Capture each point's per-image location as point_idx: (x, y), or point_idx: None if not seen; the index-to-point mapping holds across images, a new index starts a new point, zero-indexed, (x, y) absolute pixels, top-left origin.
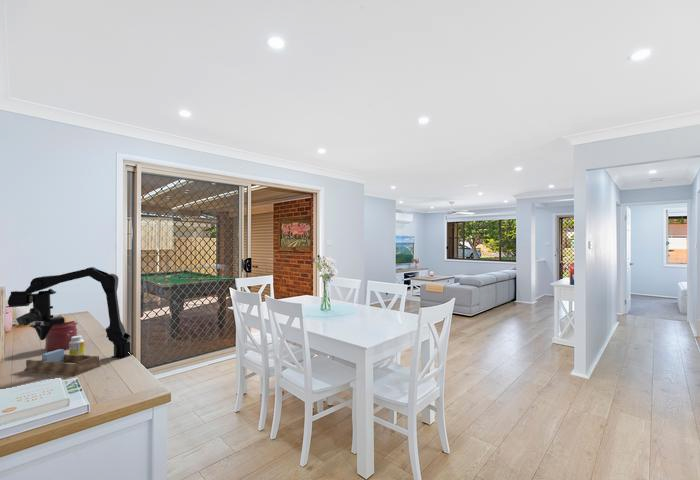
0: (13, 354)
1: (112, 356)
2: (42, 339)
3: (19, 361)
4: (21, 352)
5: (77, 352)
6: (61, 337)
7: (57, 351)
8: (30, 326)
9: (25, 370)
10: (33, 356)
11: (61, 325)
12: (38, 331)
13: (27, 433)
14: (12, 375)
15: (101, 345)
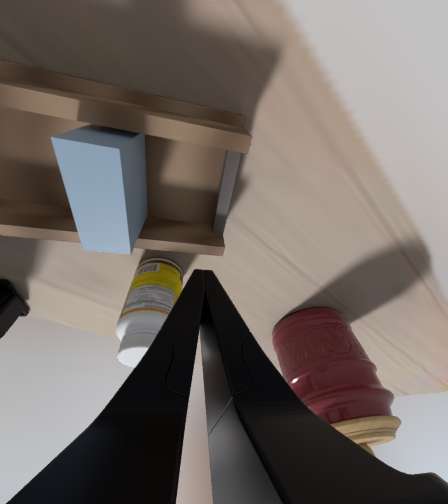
0: (423, 284)
1: (6, 285)
2: (192, 276)
3: (365, 235)
4: (406, 297)
5: (132, 282)
6: (304, 357)
7: (77, 216)
8: (418, 497)
9: (235, 114)
10: (345, 275)
11: (327, 412)
12: (224, 357)
13: None
14: (256, 35)
15: (200, 346)
